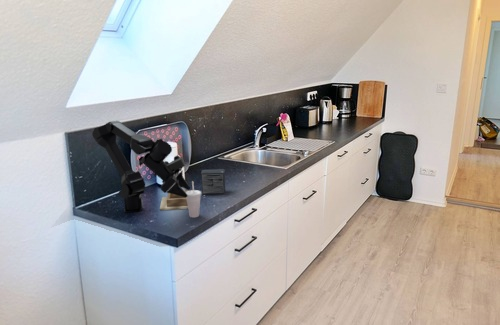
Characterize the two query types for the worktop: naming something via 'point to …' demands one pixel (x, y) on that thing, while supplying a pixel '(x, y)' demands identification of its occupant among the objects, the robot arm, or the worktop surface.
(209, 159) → the worktop surface
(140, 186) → the robot arm
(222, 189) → the small box
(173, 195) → the bottle stand
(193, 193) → the smoothie
